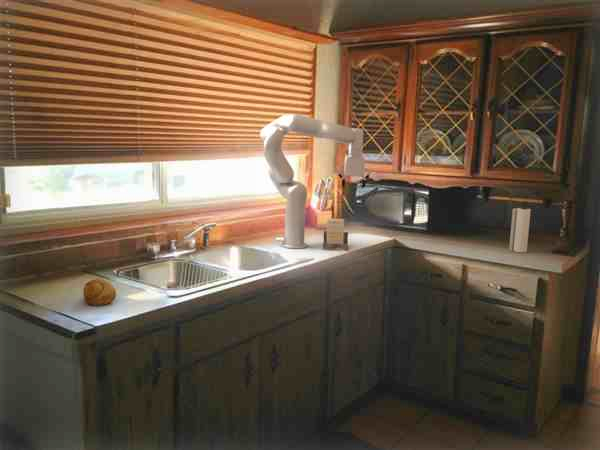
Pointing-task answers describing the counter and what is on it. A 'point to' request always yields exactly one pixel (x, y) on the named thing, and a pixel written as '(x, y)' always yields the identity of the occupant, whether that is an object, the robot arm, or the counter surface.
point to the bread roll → (99, 292)
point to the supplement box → (335, 231)
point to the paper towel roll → (519, 230)
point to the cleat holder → (335, 246)
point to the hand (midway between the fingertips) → (353, 187)
